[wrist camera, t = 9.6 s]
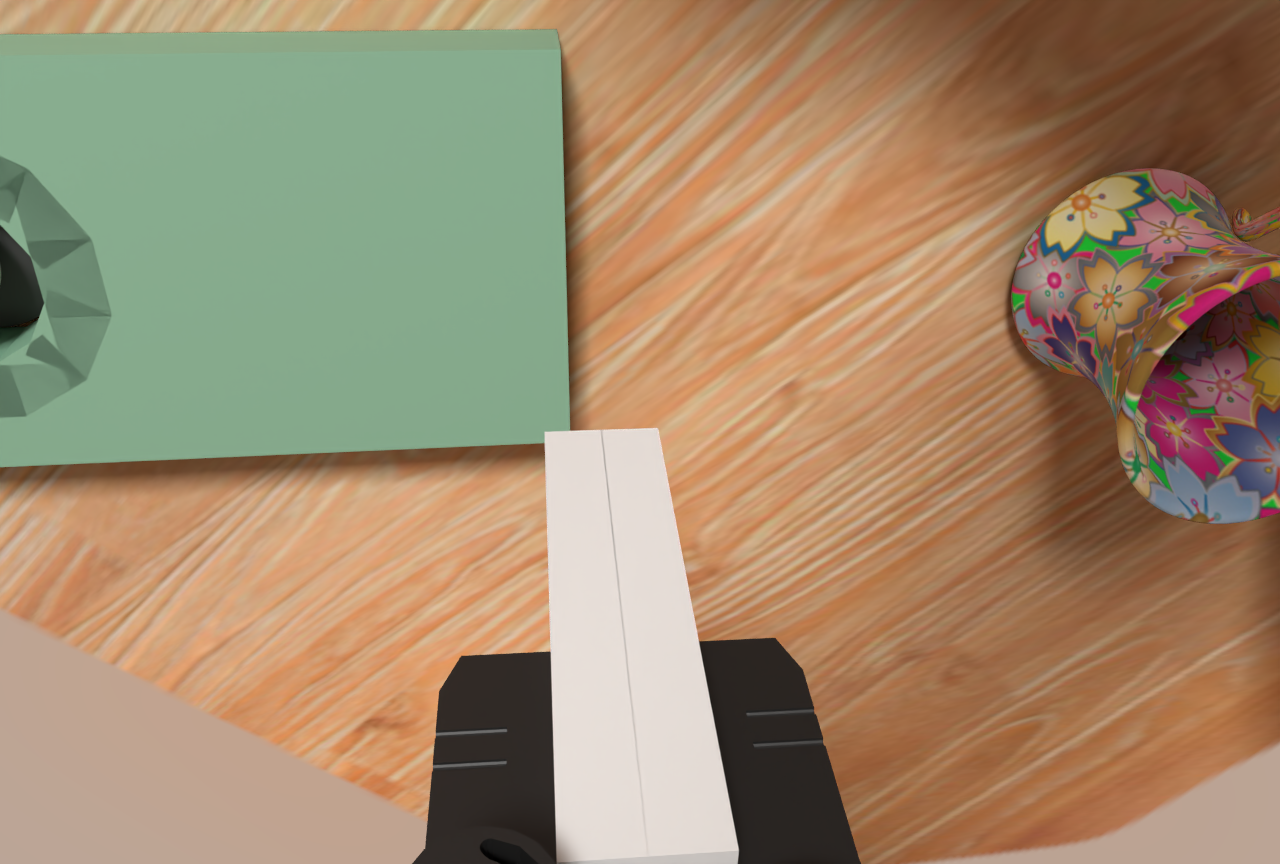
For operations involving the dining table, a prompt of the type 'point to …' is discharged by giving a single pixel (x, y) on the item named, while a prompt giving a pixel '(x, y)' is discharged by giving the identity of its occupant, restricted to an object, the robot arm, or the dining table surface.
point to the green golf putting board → (280, 243)
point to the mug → (1166, 335)
